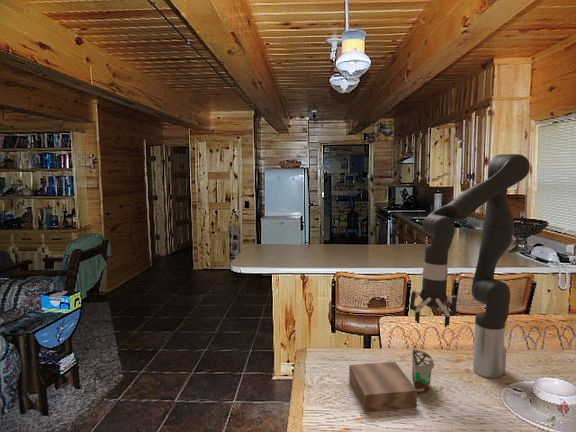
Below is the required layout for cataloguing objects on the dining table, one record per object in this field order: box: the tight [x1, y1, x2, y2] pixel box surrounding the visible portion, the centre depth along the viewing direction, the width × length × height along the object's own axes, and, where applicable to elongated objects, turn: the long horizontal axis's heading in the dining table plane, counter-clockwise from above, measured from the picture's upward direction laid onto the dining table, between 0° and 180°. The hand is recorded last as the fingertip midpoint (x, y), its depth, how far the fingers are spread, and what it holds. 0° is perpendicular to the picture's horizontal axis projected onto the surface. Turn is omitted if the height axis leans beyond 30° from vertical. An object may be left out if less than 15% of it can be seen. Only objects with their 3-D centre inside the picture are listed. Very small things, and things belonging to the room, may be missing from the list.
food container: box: [411, 349, 435, 395], centre depth 136 cm, size 12×6×10 cm, turn 168°
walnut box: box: [348, 361, 418, 413], centre depth 133 cm, size 16×18×6 cm
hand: (431, 324), depth 137 cm, fingers open, 8 cm apart
